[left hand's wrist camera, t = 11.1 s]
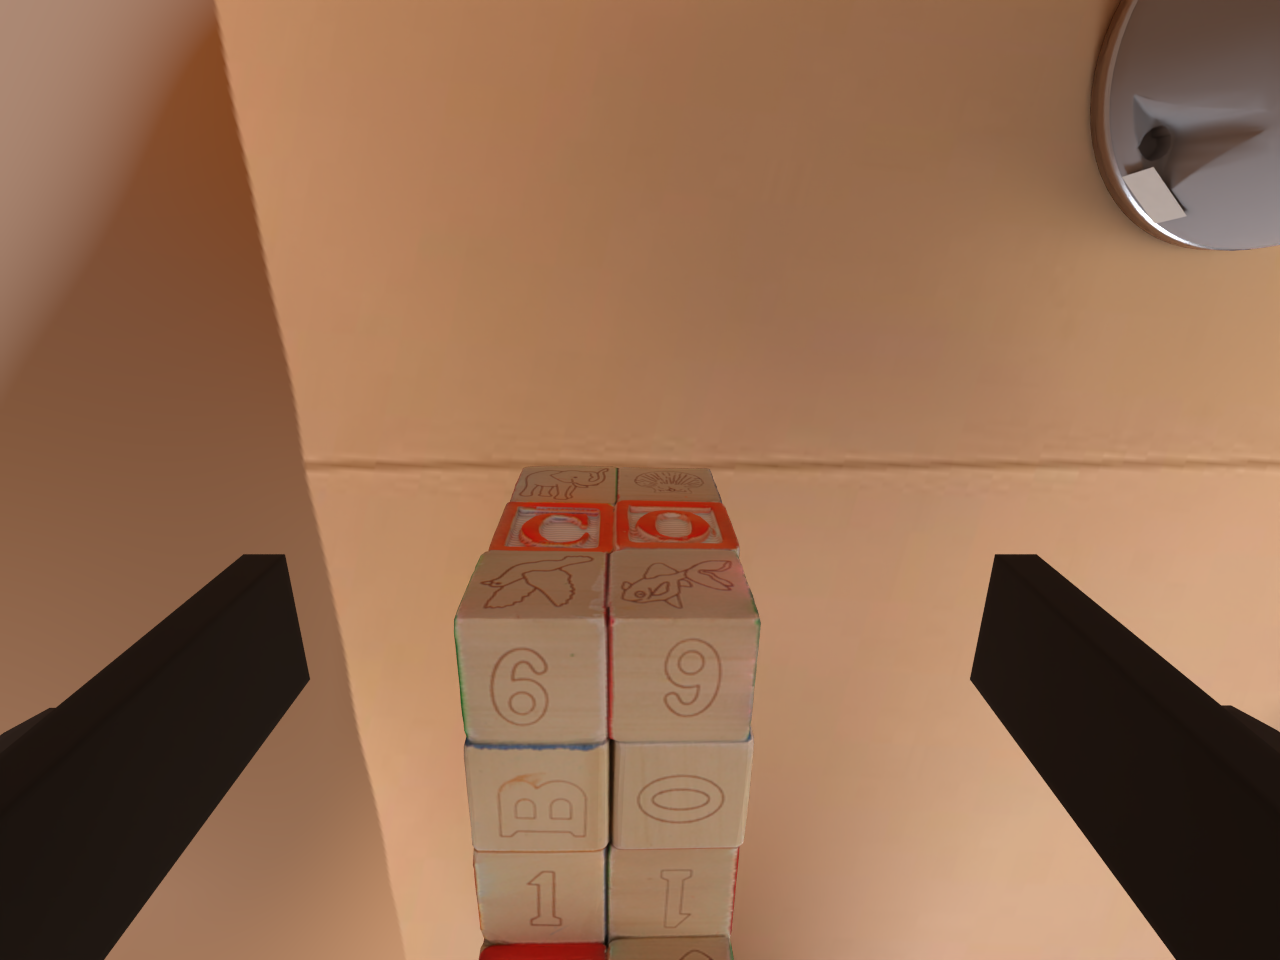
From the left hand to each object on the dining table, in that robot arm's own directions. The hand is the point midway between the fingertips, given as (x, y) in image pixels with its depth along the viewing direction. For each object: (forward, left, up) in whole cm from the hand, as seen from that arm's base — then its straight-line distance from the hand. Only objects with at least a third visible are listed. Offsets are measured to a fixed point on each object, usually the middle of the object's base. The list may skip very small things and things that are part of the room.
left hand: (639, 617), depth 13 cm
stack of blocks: (+11, +2, -10) cm, 14 cm away
